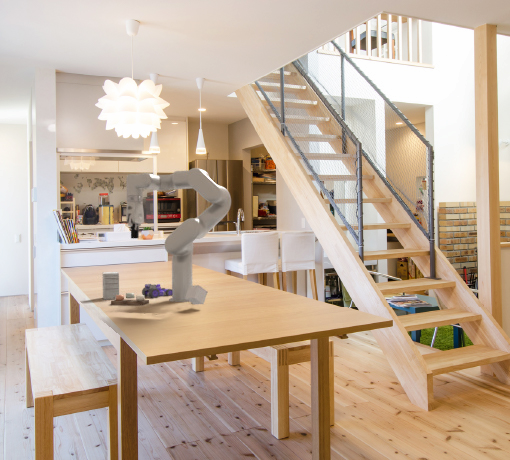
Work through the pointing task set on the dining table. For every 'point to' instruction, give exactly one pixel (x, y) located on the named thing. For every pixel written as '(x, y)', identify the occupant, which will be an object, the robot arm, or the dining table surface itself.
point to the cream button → (140, 298)
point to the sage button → (129, 295)
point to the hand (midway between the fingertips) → (134, 238)
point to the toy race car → (155, 291)
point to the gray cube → (196, 294)
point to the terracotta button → (119, 297)
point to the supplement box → (110, 285)
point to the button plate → (129, 302)
